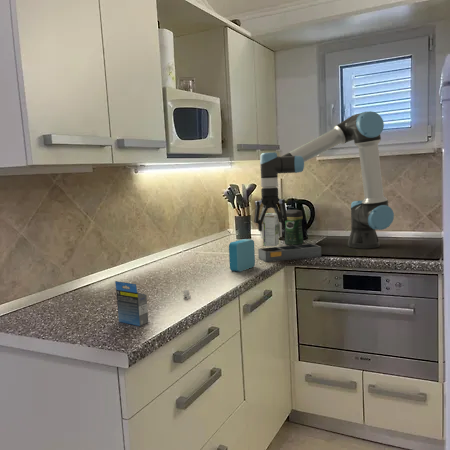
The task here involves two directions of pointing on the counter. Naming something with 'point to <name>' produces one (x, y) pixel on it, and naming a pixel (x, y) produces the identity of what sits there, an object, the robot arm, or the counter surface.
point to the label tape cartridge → (131, 304)
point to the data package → (241, 255)
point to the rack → (289, 252)
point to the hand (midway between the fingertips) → (271, 237)
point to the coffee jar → (293, 227)
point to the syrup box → (271, 229)
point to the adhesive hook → (186, 294)
